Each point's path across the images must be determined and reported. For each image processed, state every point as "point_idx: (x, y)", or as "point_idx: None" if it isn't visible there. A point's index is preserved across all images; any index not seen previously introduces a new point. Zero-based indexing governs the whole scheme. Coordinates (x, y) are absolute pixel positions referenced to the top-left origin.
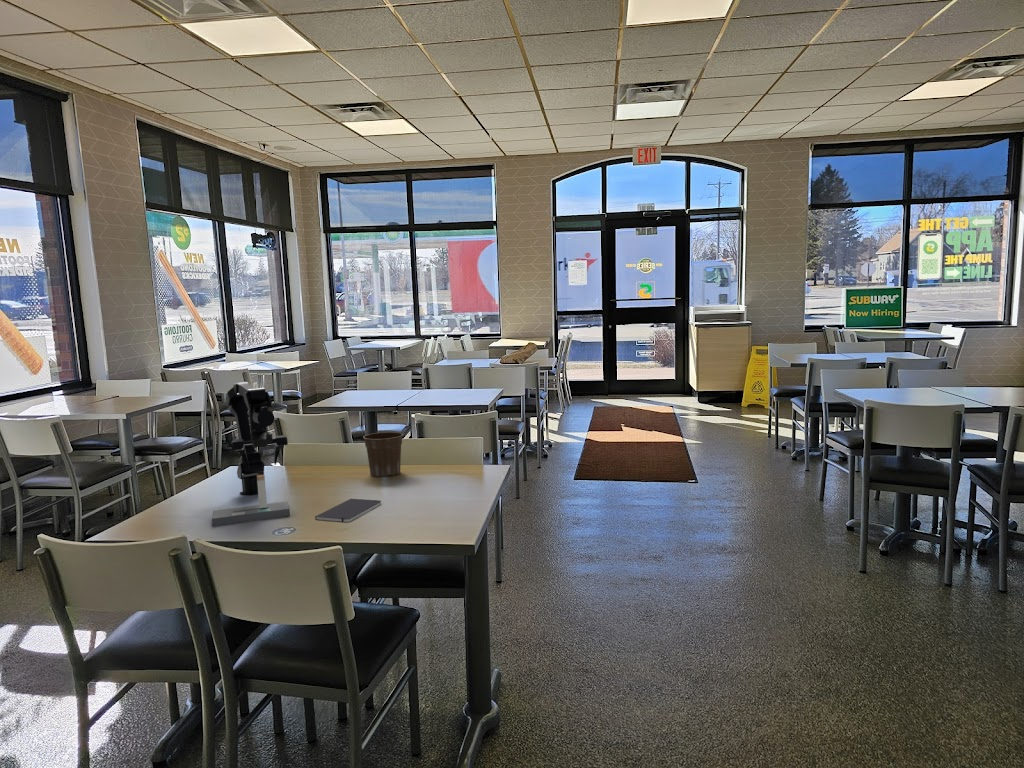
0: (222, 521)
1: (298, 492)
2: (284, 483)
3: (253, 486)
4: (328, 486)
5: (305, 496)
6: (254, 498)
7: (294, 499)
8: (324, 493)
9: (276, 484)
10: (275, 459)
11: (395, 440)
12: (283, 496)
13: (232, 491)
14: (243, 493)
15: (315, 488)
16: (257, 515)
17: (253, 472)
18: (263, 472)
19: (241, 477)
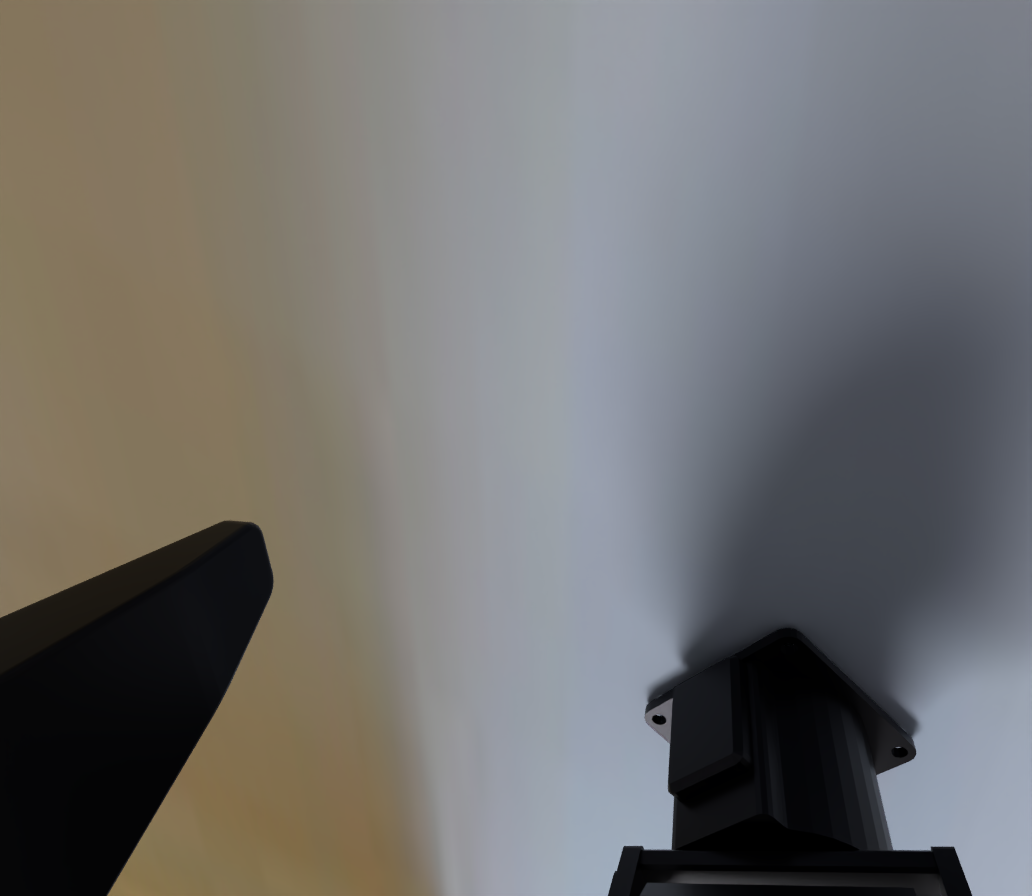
0: None
1: (297, 480)
2: (460, 824)
3: (766, 722)
4: (54, 538)
5: (191, 272)
6: (778, 490)
7: (297, 190)
8: (15, 297)
9: (528, 834)
10: (103, 601)
11: None
12: (441, 402)
13: (960, 858)
14: (877, 709)
15: (157, 535)
16: None
17: (767, 886)
18: (617, 878)
19: (953, 867)
